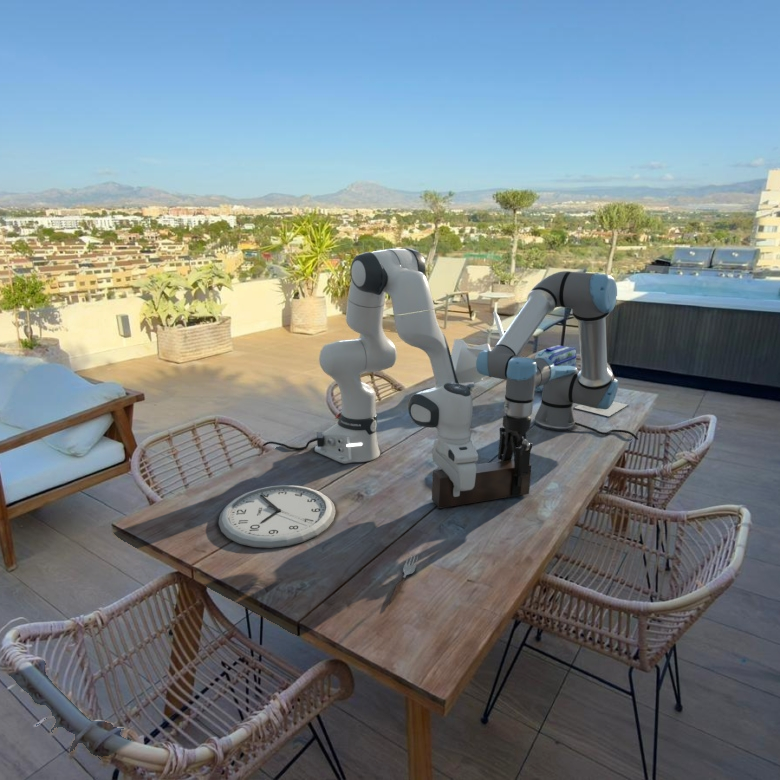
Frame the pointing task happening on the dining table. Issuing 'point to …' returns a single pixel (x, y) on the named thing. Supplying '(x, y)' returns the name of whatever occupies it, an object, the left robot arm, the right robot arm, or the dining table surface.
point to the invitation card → (607, 412)
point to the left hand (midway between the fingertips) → (450, 490)
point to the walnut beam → (479, 484)
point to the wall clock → (277, 516)
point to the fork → (407, 571)
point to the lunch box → (558, 357)
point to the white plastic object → (470, 357)
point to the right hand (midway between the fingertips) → (510, 489)
